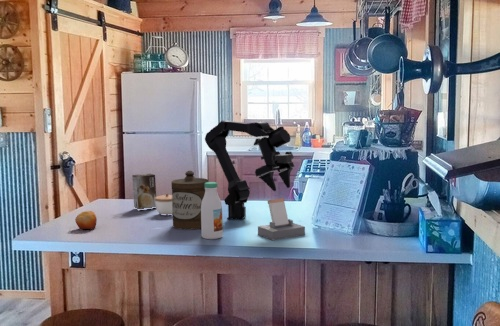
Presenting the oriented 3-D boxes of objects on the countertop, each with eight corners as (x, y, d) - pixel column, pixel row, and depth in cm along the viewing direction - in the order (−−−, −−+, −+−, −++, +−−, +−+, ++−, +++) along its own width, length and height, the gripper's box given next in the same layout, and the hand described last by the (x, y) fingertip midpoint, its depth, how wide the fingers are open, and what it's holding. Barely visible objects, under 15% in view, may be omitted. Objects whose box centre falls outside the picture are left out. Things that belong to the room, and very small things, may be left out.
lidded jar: (151, 214, 238) (150, 193, 237) (172, 210, 244) (171, 190, 243) (162, 218, 229) (161, 196, 228) (184, 214, 236) (183, 193, 234)
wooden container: (166, 228, 210) (164, 172, 208) (183, 220, 224) (181, 168, 222) (200, 231, 205) (198, 173, 203) (216, 222, 219) (214, 169, 217)
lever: (272, 227, 197) (267, 200, 198) (286, 225, 200) (280, 199, 201) (275, 226, 195) (270, 199, 197) (289, 224, 198) (284, 197, 200)
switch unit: (258, 234, 198) (257, 221, 198) (289, 229, 205) (289, 216, 205) (272, 240, 190) (272, 226, 189) (304, 234, 197) (304, 221, 196)
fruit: (104, 222, 216) (97, 207, 211) (94, 236, 210) (87, 221, 206) (87, 221, 219) (79, 206, 214) (77, 235, 213) (69, 220, 208)
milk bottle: (206, 240, 191) (205, 185, 188) (198, 236, 197) (196, 182, 195) (226, 237, 194) (225, 183, 192) (217, 233, 201) (216, 180, 199)
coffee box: (152, 206, 254) (151, 173, 252) (157, 209, 249) (155, 174, 247) (133, 209, 249) (132, 174, 248) (137, 211, 244) (136, 176, 242)
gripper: (269, 146, 200) (283, 185, 198) (297, 142, 214) (311, 179, 212) (248, 156, 207) (261, 195, 205) (277, 152, 221) (289, 188, 219)
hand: (282, 189), depth 210 cm, fingers open, 9 cm apart
